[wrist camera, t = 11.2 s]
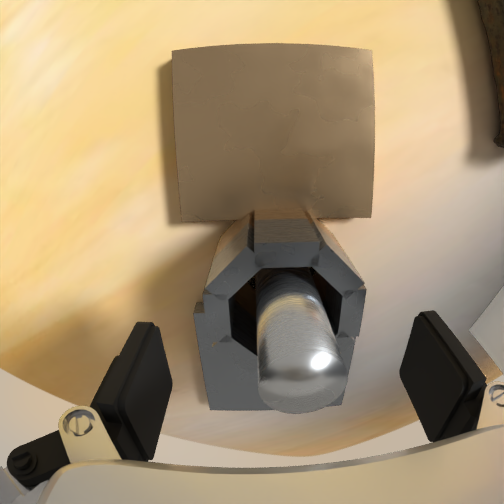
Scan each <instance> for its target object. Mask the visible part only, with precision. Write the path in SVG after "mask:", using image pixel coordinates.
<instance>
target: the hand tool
mask: <svg viewBox="0 0 504 504" xmlns="http://www.w3.org/2000/svg"><path fill="white" fill-rule="evenodd" d="M478 3H479V6H480V11H481V17H482V20H483V22H484V25H485V28H486V31H487V35H488V39H489V44H490V49H491V54H492V63H493V68H494V77H495V82H496V86H497V96H498V102H499V110H500V121H501V130H500V134H499V135H498V136H497V137H496V138H495V139H494V143H495V144H496V145H497V146H500V147H503V148H504V0H478Z"/></svg>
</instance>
